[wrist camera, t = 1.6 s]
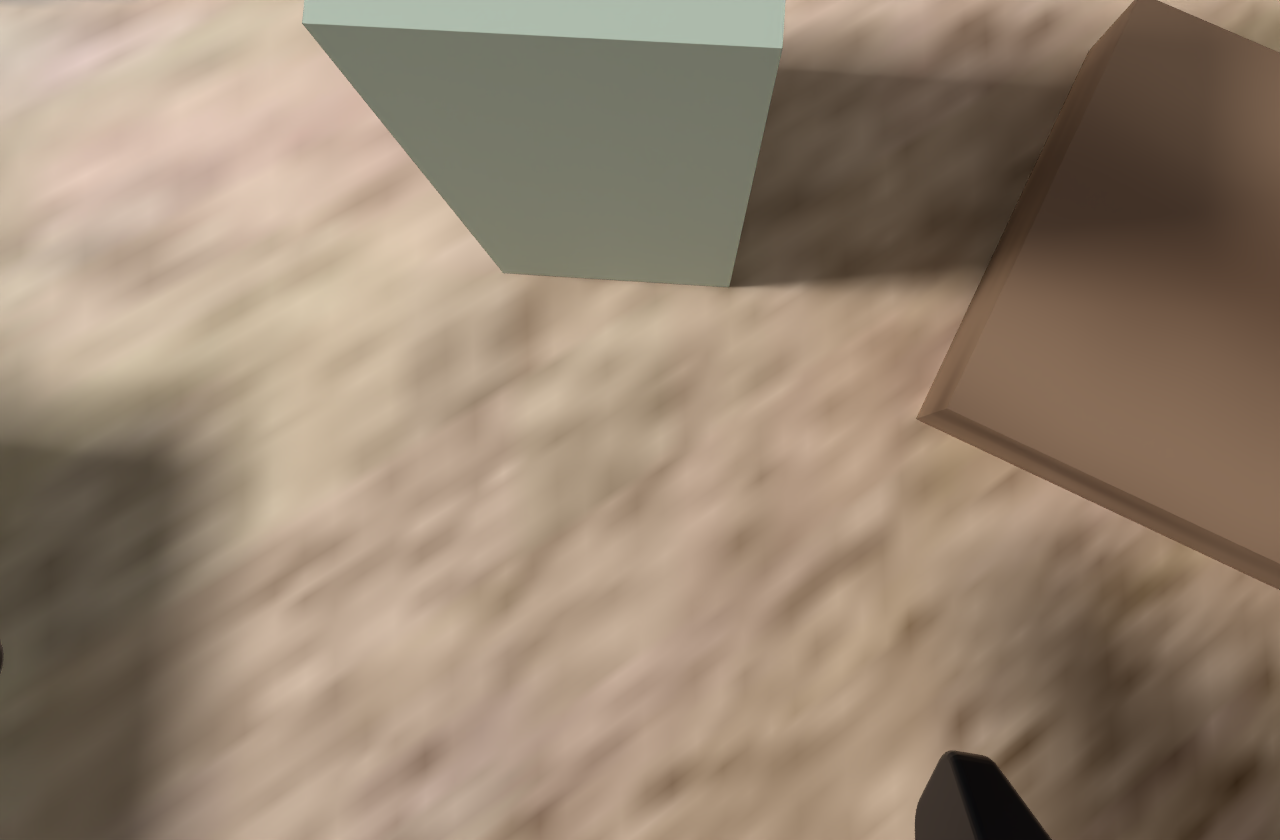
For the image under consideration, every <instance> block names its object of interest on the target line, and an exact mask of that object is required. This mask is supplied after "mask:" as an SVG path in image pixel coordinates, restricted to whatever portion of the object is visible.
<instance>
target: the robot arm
mask: <svg viewBox="0 0 1280 840" xmlns="http://www.w3.org/2000/svg"><path fill="white" fill-rule="evenodd" d="M2 666H3V648H2V645H1V641H0V673H1V670H2ZM915 840H1052V839H1051V838H1050V837H1049V835H1048V834H1047V833H1046V831H1045V830H1044V828H1043V827H1042V826H1041V824H1040V823H1039V822H1038V820H1037V819H1036V818H1035V816H1034V815H1033V814H1032V812H1031V811H1030V809H1029V808H1028V807H1027V805H1026V804H1025V803H1024V801H1023V800H1022V799H1021V797H1020V796H1019V795H1018V793H1017V792H1016V790H1015V789H1014V788H1013V786H1012V785H1011V784H1010V782H1009V781H1008V780H1007V778H1006V777H1005V776H1004V774H1003V773H1002V771H1001V770H1000V769H999V767H998V766H997V765H996V764H995V763H994V762H993V761H992V760H991V759H990V758H988V757H986V756H983V755H978V754H972V753H966V752H959V751H948V752H946V753H945V754H943V755H942V757H941V758H940V760H939V762H938V764H937V766H936V768H935V770H934V772H933V774H932V776H931V778H930V780H929V781H928V783H927V785H926V787H925V789H924V791H923V793H922V795H921V797H920V800H919V802H918V805H917V809H916V815H915Z"/></svg>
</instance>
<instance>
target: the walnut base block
mask: <svg viewBox="0 0 1280 840" xmlns="http://www.w3.org/2000/svg"><path fill="white" fill-rule="evenodd" d="M916 419H917V420H919V421H921V422H924V423H926V424H928V425H930V426H932V427H934V428H936V429H938V430H941V431H943V432H945V433H947V434H949V435H951V436H953V437H955V438H958V439H960V440H962V441H964V442H966V443H968V444H970V445H972V446H975V447H977V448H979V449H981V450H983V451H985V452H987V453H989V454H992V455H994V456H996V457H998V458H1000V459H1002V460H1004V461H1006V462H1009V463H1011V464H1013V465H1015V466H1017V467H1019V468H1021V469H1023V470H1026V471H1028V472H1030V473H1032V474H1034V475H1036V476H1038V477H1041V478H1043V479H1045V480H1047V481H1049V482H1051V483H1053V484H1055V485H1058V486H1060V487H1062V488H1064V489H1066V490H1068V491H1070V492H1072V493H1075V494H1077V495H1079V496H1081V497H1083V498H1085V499H1087V500H1089V501H1092V502H1094V503H1096V504H1098V505H1100V506H1102V507H1104V508H1106V509H1109V510H1111V511H1113V512H1115V513H1117V514H1119V515H1121V516H1123V517H1126V518H1128V519H1130V520H1132V521H1134V522H1136V523H1138V524H1141V525H1143V526H1145V527H1147V528H1149V529H1151V530H1153V531H1155V532H1158V533H1160V534H1162V535H1164V536H1166V537H1168V538H1170V539H1172V540H1175V541H1177V542H1179V543H1181V544H1183V545H1185V546H1187V547H1189V548H1192V549H1194V550H1196V551H1198V552H1200V553H1202V554H1204V555H1206V556H1209V557H1211V558H1213V559H1215V560H1217V561H1219V562H1221V563H1223V564H1226V565H1228V566H1230V567H1232V568H1234V569H1236V570H1238V571H1240V572H1243V573H1245V574H1247V575H1249V576H1251V577H1253V578H1255V579H1258V580H1260V581H1262V582H1264V583H1266V584H1268V585H1270V586H1272V587H1275V588H1277V589H1279V590H1280V53H1279V52H1277V51H1274V50H1272V49H1270V48H1267V47H1265V46H1263V45H1260V44H1258V43H1256V42H1253V41H1251V40H1249V39H1246V38H1244V37H1242V36H1239V35H1237V34H1235V33H1232V32H1230V31H1228V30H1225V29H1223V28H1221V27H1218V26H1216V25H1214V24H1211V23H1209V22H1207V21H1204V20H1202V19H1200V18H1197V17H1195V16H1193V15H1190V14H1188V13H1186V12H1183V11H1181V10H1179V9H1176V8H1174V7H1172V6H1169V5H1167V4H1165V3H1162V2H1160V1H1158V0H1134V1H1133V2H1132V4H1131V5H1130V6H1129V7H1128V8H1127V9H1126V10H1125V11H1124V12H1123V14H1122V15H1121V16H1120V17H1119V18H1118V19H1117V20H1116V21H1115V22H1114V24H1113V25H1112V26H1111V27H1110V28H1109V29H1108V30H1107V31H1106V32H1105V34H1104V35H1103V36H1102V37H1101V38H1100V39H1099V40H1098V41H1097V43H1096V44H1095V45H1094V46H1093V47H1092V48H1091V49H1090V50H1089V52H1088V54H1087V56H1086V58H1085V60H1084V62H1083V65H1082V67H1081V69H1080V71H1079V73H1078V75H1077V77H1076V79H1075V82H1074V84H1073V86H1072V88H1071V90H1070V92H1069V94H1068V96H1067V99H1066V101H1065V103H1064V105H1063V107H1062V109H1061V111H1060V114H1059V116H1058V118H1057V120H1056V122H1055V124H1054V126H1053V128H1052V131H1051V133H1050V135H1049V137H1048V139H1047V141H1046V143H1045V145H1044V148H1043V150H1042V152H1041V154H1040V156H1039V158H1038V160H1037V163H1036V165H1035V167H1034V169H1033V171H1032V173H1031V175H1030V177H1029V180H1028V182H1027V184H1026V186H1025V188H1024V190H1023V192H1022V194H1021V197H1020V199H1019V201H1018V203H1017V205H1016V207H1015V209H1014V212H1013V214H1012V216H1011V218H1010V220H1009V222H1008V224H1007V226H1006V229H1005V231H1004V233H1003V235H1002V237H1001V239H1000V241H999V243H998V246H997V248H996V250H995V252H994V254H993V256H992V258H991V261H990V263H989V265H988V267H987V269H986V271H985V273H984V275H983V278H982V280H981V282H980V284H979V286H978V288H977V290H976V292H975V295H974V297H973V299H972V301H971V303H970V305H969V307H968V310H967V312H966V314H965V316H964V318H963V320H962V322H961V324H960V327H959V329H958V331H957V333H956V335H955V337H954V339H953V341H952V344H951V346H950V348H949V350H948V352H947V354H946V356H945V359H944V361H943V363H942V365H941V367H940V369H939V371H938V373H937V376H936V378H935V380H934V382H933V384H932V386H931V388H930V390H929V393H928V395H927V397H926V399H925V401H924V403H923V405H922V408H921V410H920V412H919V414H918V416H917V418H916Z"/></svg>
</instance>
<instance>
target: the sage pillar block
mask: <svg viewBox="0 0 1280 840" xmlns="http://www.w3.org/2000/svg"><path fill="white" fill-rule="evenodd" d="M784 16H785V0H304V10H303V20H302V24H303V25H304V26H305V27H306V29H307V30H308V31H309V32H310V34H311V35H312V36H313V37H314V39H315V40H316V41H317V42H318V44H319V45H320V46H321V47H322V48H323V50H324V51H325V52H326V53H327V55H328V56H329V57H330V58H331V60H332V61H333V62H334V63H335V65H336V66H337V67H338V68H339V70H340V71H341V72H342V73H343V75H344V76H345V77H346V78H347V80H348V81H349V82H350V83H351V85H352V86H353V87H354V88H355V89H356V91H357V92H358V93H359V94H360V96H361V97H362V98H363V99H364V101H365V102H366V103H367V104H368V106H369V107H370V108H371V109H372V111H373V112H374V113H375V114H376V116H377V117H378V118H379V119H380V121H381V122H382V123H383V124H384V125H385V127H386V128H387V129H388V130H389V132H390V133H391V134H392V135H393V137H394V138H395V139H396V140H397V142H398V143H399V144H400V145H401V147H402V148H403V149H404V150H405V152H406V153H407V154H408V155H409V157H410V158H411V159H412V160H413V162H414V163H415V164H416V165H417V166H418V168H419V169H420V170H421V171H422V173H423V174H424V175H425V176H426V178H427V179H428V180H429V181H430V183H431V184H432V185H433V186H434V188H435V189H436V190H437V191H438V193H439V194H440V195H441V196H442V198H443V199H444V200H445V201H446V202H447V204H448V205H449V206H450V207H451V209H452V210H453V211H454V212H455V214H456V215H457V216H458V217H459V219H460V220H461V221H462V222H463V224H464V225H465V226H466V227H467V229H468V230H469V231H470V232H471V234H472V235H473V236H474V237H475V239H476V240H477V241H478V242H479V243H480V245H481V246H482V247H483V248H484V250H485V251H486V252H487V253H488V255H489V256H490V257H491V258H492V260H493V261H494V262H495V263H496V265H497V266H498V267H499V268H500V270H501V271H502V272H503V273H512V274H528V275H544V276H560V277H575V278H591V279H607V280H623V281H639V282H654V283H670V284H686V285H702V286H718V287H729V286H730V281H731V277H732V272H733V268H734V263H735V259H736V254H737V250H738V245H739V241H740V236H741V232H742V227H743V223H744V218H745V214H746V209H747V205H748V201H749V196H750V192H751V187H752V183H753V178H754V174H755V169H756V165H757V160H758V156H759V151H760V147H761V142H762V138H763V133H764V129H765V124H766V120H767V115H768V111H769V106H770V102H771V97H772V93H773V88H774V84H775V79H776V75H777V70H778V66H779V61H780V57H781V52H782V47H783V31H784Z"/></svg>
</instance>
